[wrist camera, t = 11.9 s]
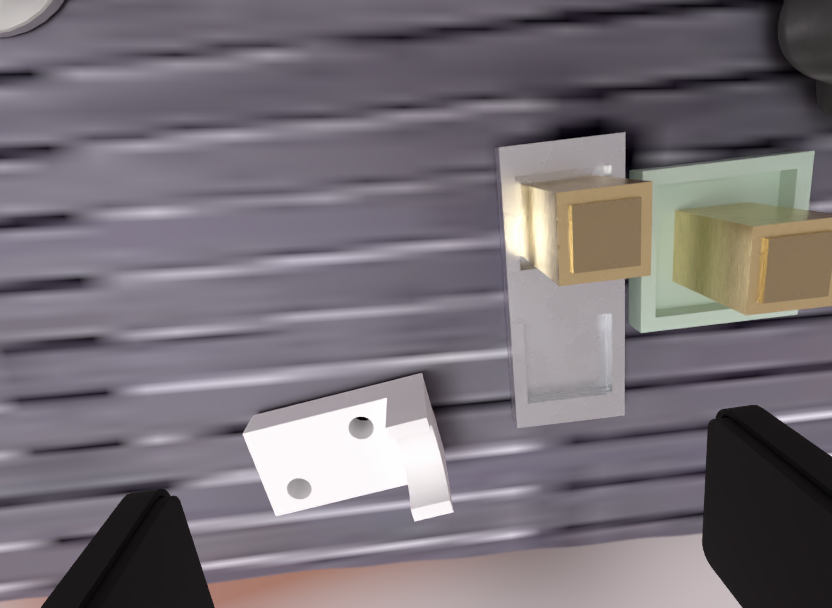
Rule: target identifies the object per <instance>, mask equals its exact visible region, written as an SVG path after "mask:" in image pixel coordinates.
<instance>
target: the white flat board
mask: <svg viewBox="0 0 832 608" xmlns="http://www.w3.org/2000/svg"><path fill="white" fill-rule="evenodd" d="M494 155H495V169H496V184H497V199H498V214H499V228H500V243H501V258H502V272H503V287H504V302H505V317H506V331H507V346H508V361H509V376H510V390H511V405H512V417H513V420H514V422H515V424H516V427H517V428H523V427H531V426H540V425H548V424H556V423H565V422H573V421H582V420H590V419H598V418H607V417H615V416H624V415H625V279H617V280H609V281H600V282H592V283H584V284H575V285H567V286H558V285H557V284H556V283H555V282H553V281H552V280H551V279H550V278H549V277H547V276H546V275H545V274H544V273H543V272H541V271H540V270H539V269H538V268H537V267H535V266H534V265H533V264H532V263H530V262H529V261H528V260H527V259H526V258H524V240H523V222H522V203H521V185H520V184H525V183H533V182H541V181H550V180H558V179H566V178H575V177H583V176H591V175H599V176H608V177H617V178H625V132H623V133H612V134H604V135H596V136H587V137H579V138H571V139H562V140H554V141H546V142H537V143H529V144H521V145H512V146H504V147H496V148H494Z"/></svg>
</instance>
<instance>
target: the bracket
mask: <svg viewBox="0 0 832 608" xmlns="http://www.w3.org/2000/svg"><path fill="white" fill-rule="evenodd" d="M356 417H366V418H368V419H369V420H366V421H361V420H358V419H356ZM243 436H244V439H245V441H246V443H247V446H248V448H249V451H250V453H251V456H252V458H253V461H254V463H255V466H256V468H257V471H258V473H259V476H260V478H261V480H262V483H263V485H264V488H265V490H266V493H267V495H268V498H269V500H270V503H271V505H272V508H273V510H274V513H275V515H276V516H279V515H283V514H288V513H292V512H296V511H300V510H304V509H308V508H312V507H316V506H321V505H325V504H329V503H333V502H337V501H341V500H345V499H349V498H354V497H358V496H362V495H366V494H370V493H374V492H378V491H383V490H387V489H391V488H395V487H399V486H403V485H407V484H408V488H409V495H410V504H411V512H412V515H413V518H414V521H418V520H423V519H427V518H431V517H435V516H439V515H443V514H448V513H452V512H453V506H452V500H451V493H450V486H449V480H448V473H447V467H446V460H445V453H444V448H443V444H442V441H441V437H440V434H439V430H438V426H437V423H436V419H435V416H434V412H433V410H432V407H431V404H430V400H429V396H428V393H427V389H426V386H425V382H424V378H423V375H422V373H419V374H416V375H412V376H408V377H404V378H400V379H396V380H392V381H388V382H384V383H380V384H376V385H372V386H368V387H364V388H360V389H356V390H352V391H348V392H344V393H340V394H336V395H332V396H328V397H324V398H320V399H316V400H312V401H308V402H304V403H300V404H296V405H292V406H288V407H284V408H280V409H276V410H272V411H268V412H264V413H260V414H256V415H253V416H252V418H251V420H250V421H249V423H248V425H247V427H246V429H245V430H244V432H243Z"/></svg>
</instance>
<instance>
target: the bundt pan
mask: <svg viewBox="0 0 832 608" xmlns="http://www.w3.org/2000/svg"><path fill="white" fill-rule="evenodd" d="M783 1H784V4H783V6H782V9H781V12H780V15H779V22H778V40H779V45H780V48H781V50H782V52H783V54H784V56H785V58H786V59H787V61H788V62H789V63H790V64H791V65H792V66H793V67H794V68H795V69H796V70H798V71H799V72H801V73H802V74H804V75H806V76H808V77H810V78H813V79H816V80H817V102H818V104H819V106H820V108H821V109H822V110H823V111H824V112H826V113H828V114H830V115H832V0H783Z"/></svg>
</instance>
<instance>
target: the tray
mask: <svg viewBox="0 0 832 608" xmlns="http://www.w3.org/2000/svg"><path fill="white" fill-rule="evenodd" d="M814 153H815V151H786V152H778V153H770V154H761V155H753V156H745V157H736V158H728V159H720V160H711V161H703V162H695V163H686V164H678V165H670V166H661V167H653V168H645V169H636V170H629V179H636V180H645V181H653V188H652V243H651V276H642V277H634V278H629V319H628V324H629V325H631V326H632V327H633V328H635V329H636V330H637V331H639V332H640V333H645V332H653V331H662V330H670V329H679V328H687V327H695V326H704V325H712V324H720V323H729V322H737V321H746V320H754V319H762V318H771V317H779V316H788V315H796V314H798V310H791V311H782V312H773V313H764V314H755V315H747V316H746V315H744V314H742V313H740V312H737V311H735V310H733V309H731V308H729V307H727V306H725V305H722V304H720V303H718V302H716V301H714V300H712V299H710V298H707V297H705V296H703V295H701V294H699V293H697V292H695V291H692V290H690V289H688V288H686V287H684V286H682V285H680V284H677V283H675V282H673V281H672V278H673V251H674V223H675V210H682V209H691V208H700V207H709V206H717V205H726V204H735V203H744V202H751V203H759V204H766V205H773V206H780V207H787V208H794V209H802V210H809V200H810V191H811V181H812V172H813V162H814Z"/></svg>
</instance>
